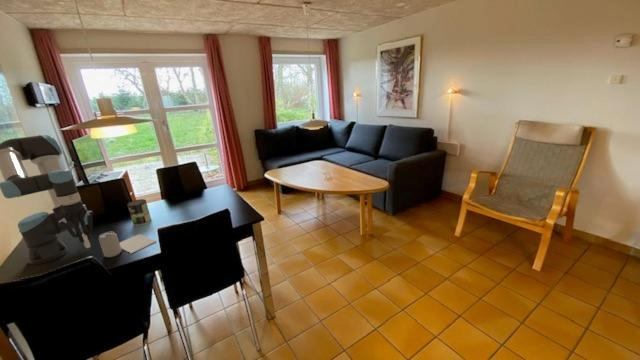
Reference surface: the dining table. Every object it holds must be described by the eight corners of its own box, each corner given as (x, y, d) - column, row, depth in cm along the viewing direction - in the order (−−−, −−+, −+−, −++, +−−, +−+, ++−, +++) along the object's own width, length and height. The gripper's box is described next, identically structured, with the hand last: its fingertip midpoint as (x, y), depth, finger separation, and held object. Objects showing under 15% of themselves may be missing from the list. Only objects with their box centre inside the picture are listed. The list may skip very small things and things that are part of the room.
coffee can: (138, 227, 169) (132, 206, 165) (130, 223, 175) (124, 203, 170) (154, 220, 178) (149, 200, 173) (146, 217, 183) (141, 198, 178)
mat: (131, 254, 140) (131, 253, 140) (115, 245, 149) (115, 244, 149) (156, 241, 150) (156, 241, 150) (139, 234, 160) (139, 233, 159)
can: (113, 258, 137) (105, 238, 133) (101, 257, 138) (93, 237, 134) (125, 250, 144) (119, 230, 140) (114, 249, 145) (107, 230, 141)
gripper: (55, 209, 116) (74, 255, 124) (91, 198, 127) (106, 242, 134) (49, 206, 120) (68, 251, 128) (84, 196, 131) (100, 238, 138)
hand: (87, 246), depth 131 cm, fingers closed
